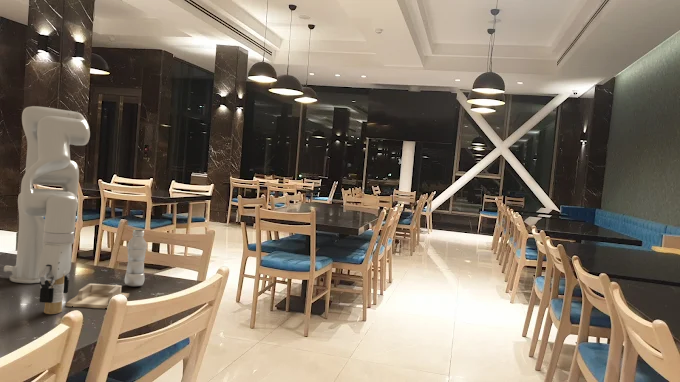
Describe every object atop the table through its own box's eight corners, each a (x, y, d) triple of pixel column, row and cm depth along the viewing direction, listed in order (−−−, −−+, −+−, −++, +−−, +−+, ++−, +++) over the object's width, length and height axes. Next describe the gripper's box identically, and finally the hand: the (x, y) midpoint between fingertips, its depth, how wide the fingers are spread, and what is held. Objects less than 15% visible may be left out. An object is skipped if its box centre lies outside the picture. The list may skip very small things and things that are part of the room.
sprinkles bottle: (41, 311, 136) (44, 264, 135) (58, 308, 139) (62, 263, 138) (47, 315, 133) (50, 268, 132) (64, 313, 136) (68, 266, 136)
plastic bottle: (136, 289, 167) (141, 232, 166) (119, 286, 168) (124, 230, 167) (147, 285, 173) (152, 230, 172) (131, 282, 174) (135, 228, 173)
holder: (65, 306, 142) (66, 292, 142) (84, 293, 156) (85, 281, 156) (115, 309, 144) (116, 296, 144) (129, 296, 158) (130, 284, 158)
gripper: (58, 232, 143) (53, 288, 144) (29, 241, 126) (24, 305, 127) (84, 234, 144) (80, 290, 145) (59, 244, 127) (54, 307, 128)
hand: (54, 297), depth 136 cm, fingers open, 9 cm apart
